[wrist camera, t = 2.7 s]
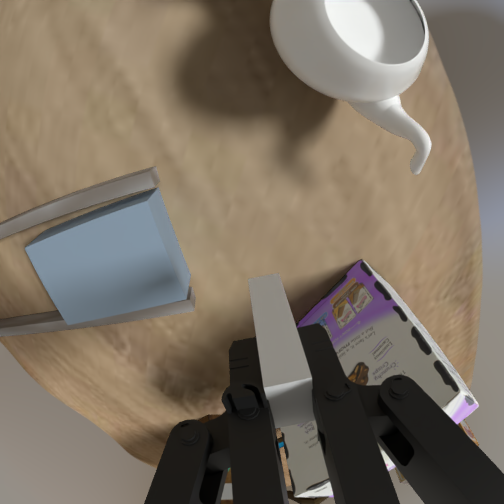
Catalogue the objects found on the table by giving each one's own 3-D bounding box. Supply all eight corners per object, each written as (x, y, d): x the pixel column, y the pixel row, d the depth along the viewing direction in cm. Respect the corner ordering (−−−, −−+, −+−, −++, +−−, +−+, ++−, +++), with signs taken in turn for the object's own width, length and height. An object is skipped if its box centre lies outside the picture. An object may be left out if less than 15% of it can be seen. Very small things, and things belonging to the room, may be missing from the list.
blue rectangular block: (46, 229, 22) (24, 247, 19) (159, 186, 22) (147, 200, 19) (82, 300, 26) (67, 325, 22) (191, 272, 26) (186, 299, 22)
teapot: (326, 182, 23) (380, 224, 14) (202, -27, 14) (192, -92, 6) (416, 136, 21) (493, 157, 13) (309, -60, 13) (346, -116, 5)
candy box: (302, 369, 32) (338, 499, 17) (263, 351, 30) (289, 499, 15) (393, 286, 28) (483, 407, 13) (360, 255, 26) (464, 393, 11)
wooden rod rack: (-56, 229, 20) (-94, 258, 13) (148, 134, 20) (111, 146, 13) (-7, 328, 26) (-34, 366, 20) (195, 297, 26) (189, 359, 20)
